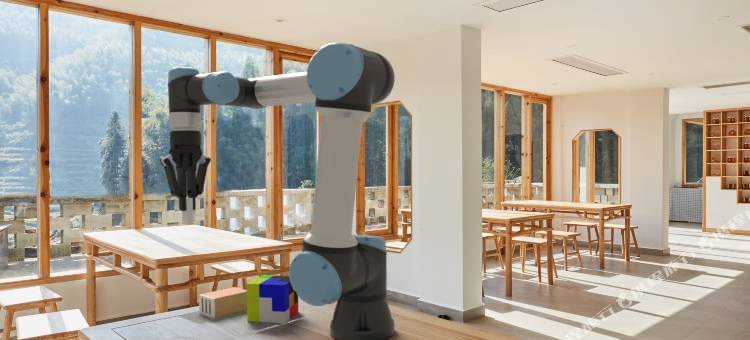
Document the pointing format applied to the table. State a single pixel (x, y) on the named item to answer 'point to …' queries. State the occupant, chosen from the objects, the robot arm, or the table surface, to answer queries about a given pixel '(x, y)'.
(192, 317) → the mat
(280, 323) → the puzzle toy
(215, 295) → the block
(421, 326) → the table surface
